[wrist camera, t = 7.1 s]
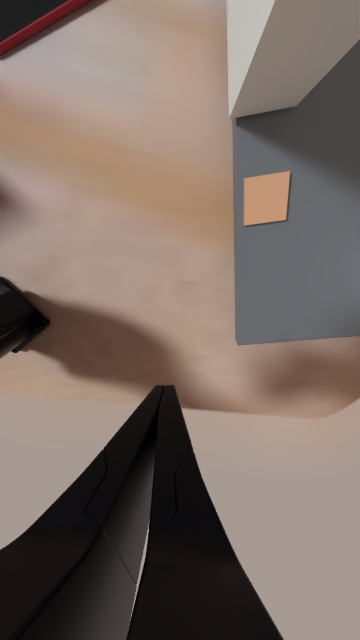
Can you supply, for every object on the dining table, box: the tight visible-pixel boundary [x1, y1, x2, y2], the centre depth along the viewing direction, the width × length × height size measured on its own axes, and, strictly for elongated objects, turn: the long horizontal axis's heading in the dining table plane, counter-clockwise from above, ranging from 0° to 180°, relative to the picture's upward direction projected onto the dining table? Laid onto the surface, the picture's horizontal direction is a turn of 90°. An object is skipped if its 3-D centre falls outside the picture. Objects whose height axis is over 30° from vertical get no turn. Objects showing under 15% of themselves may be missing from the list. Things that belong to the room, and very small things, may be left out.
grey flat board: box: [233, 39, 360, 345], centre depth 15 cm, size 13×24×2 cm, turn 8°
